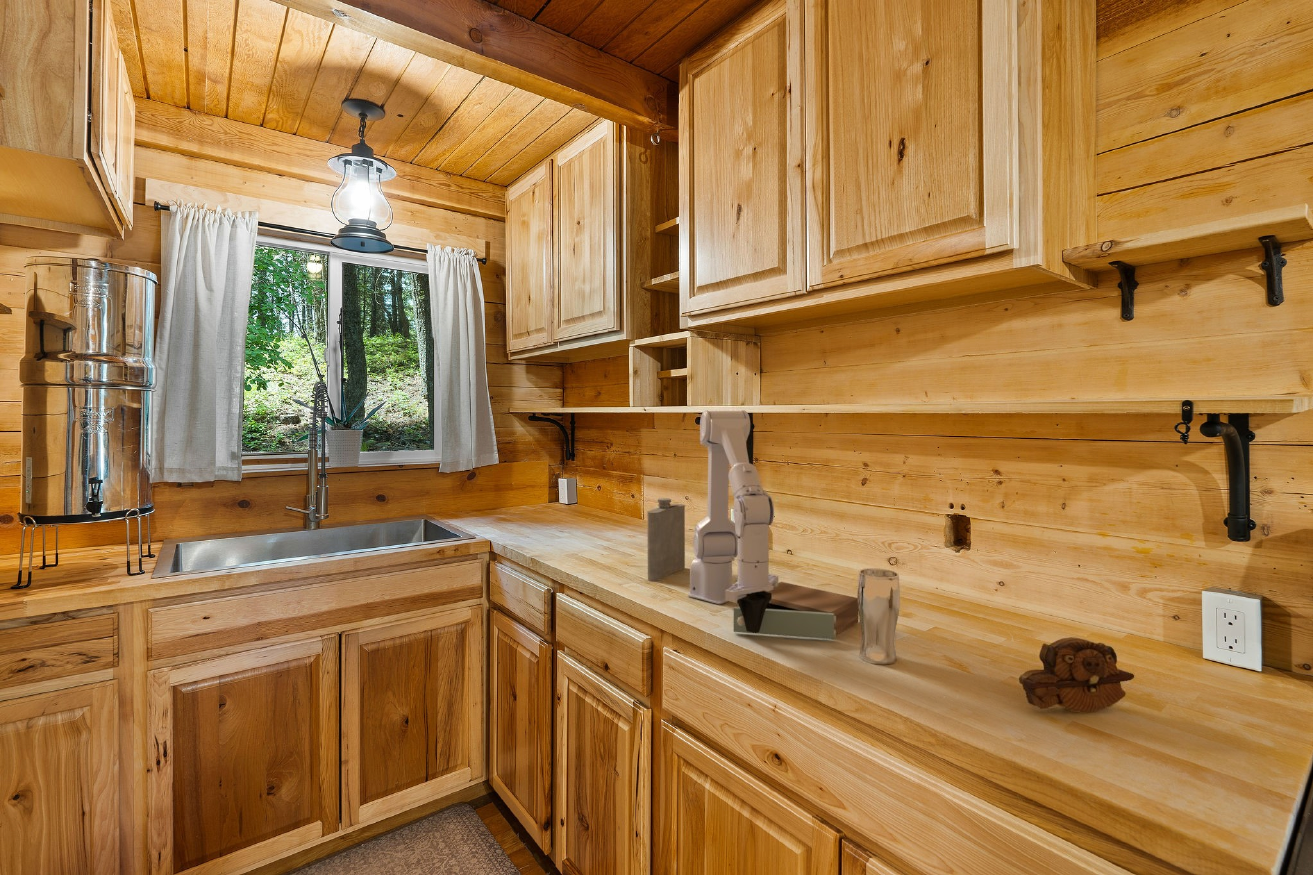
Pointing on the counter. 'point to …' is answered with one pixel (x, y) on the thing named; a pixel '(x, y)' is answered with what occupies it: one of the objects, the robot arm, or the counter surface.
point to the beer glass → (878, 614)
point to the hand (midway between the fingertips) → (752, 631)
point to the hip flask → (665, 539)
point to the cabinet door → (791, 623)
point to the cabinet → (815, 603)
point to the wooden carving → (1075, 676)
